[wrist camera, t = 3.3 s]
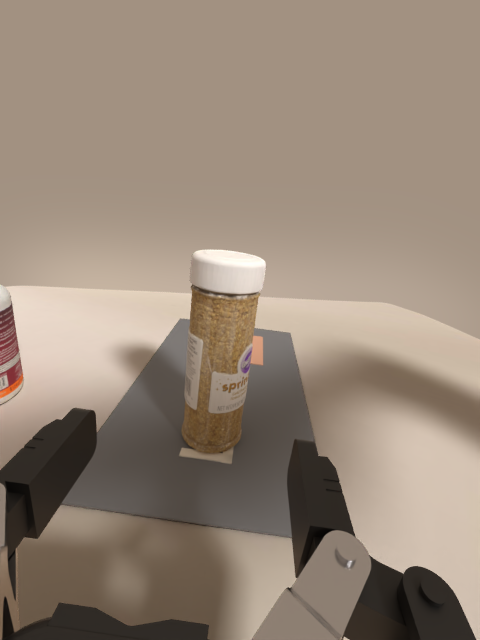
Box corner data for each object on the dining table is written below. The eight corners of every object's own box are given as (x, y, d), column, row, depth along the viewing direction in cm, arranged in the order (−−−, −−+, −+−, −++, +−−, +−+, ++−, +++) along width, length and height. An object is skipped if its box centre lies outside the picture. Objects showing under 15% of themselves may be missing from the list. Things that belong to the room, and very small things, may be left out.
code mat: (290, 333, 45) (290, 332, 45) (337, 544, 17) (338, 541, 17) (180, 319, 45) (180, 317, 45) (48, 502, 17) (47, 499, 17)
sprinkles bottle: (236, 461, 21) (264, 265, 17) (171, 449, 22) (181, 253, 17) (244, 419, 26) (268, 254, 21) (190, 409, 26) (202, 245, 21)
